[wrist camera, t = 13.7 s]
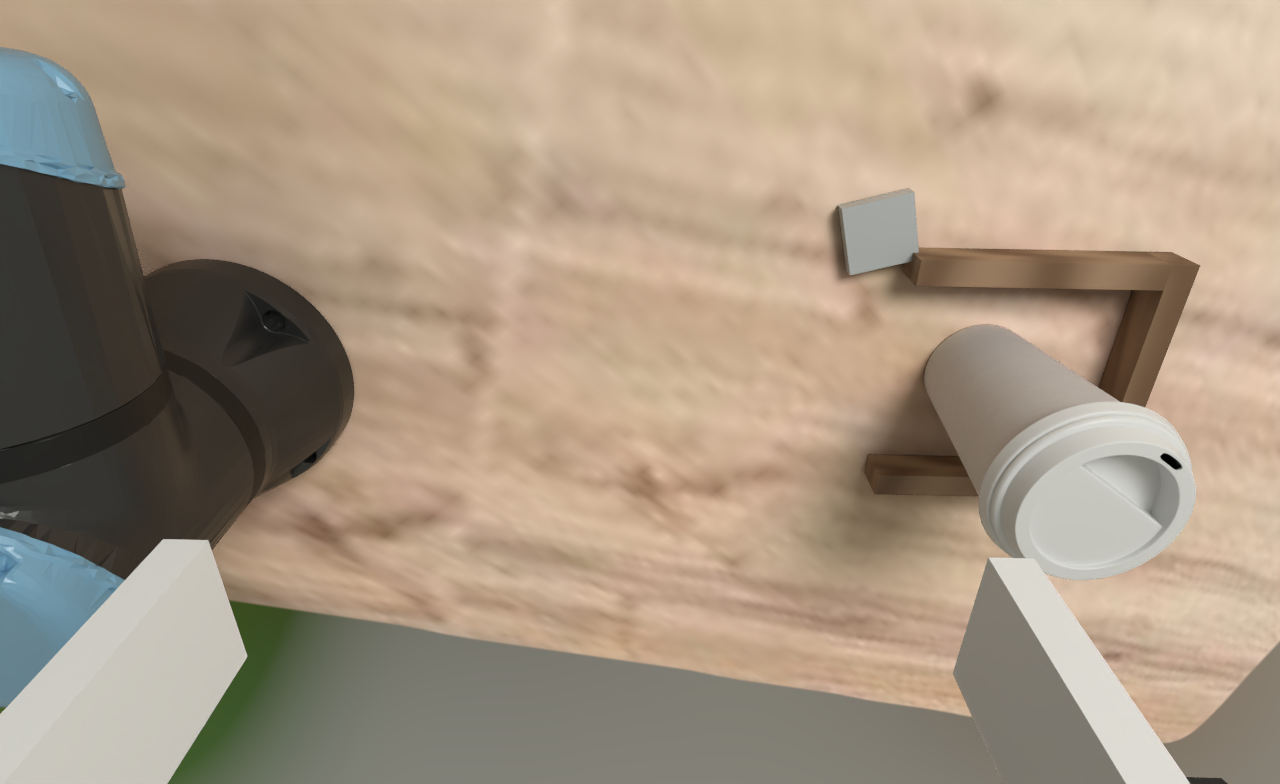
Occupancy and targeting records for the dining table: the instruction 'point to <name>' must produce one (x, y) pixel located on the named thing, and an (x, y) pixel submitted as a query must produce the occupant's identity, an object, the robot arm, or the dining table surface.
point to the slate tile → (879, 231)
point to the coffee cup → (1058, 457)
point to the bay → (1148, 274)
